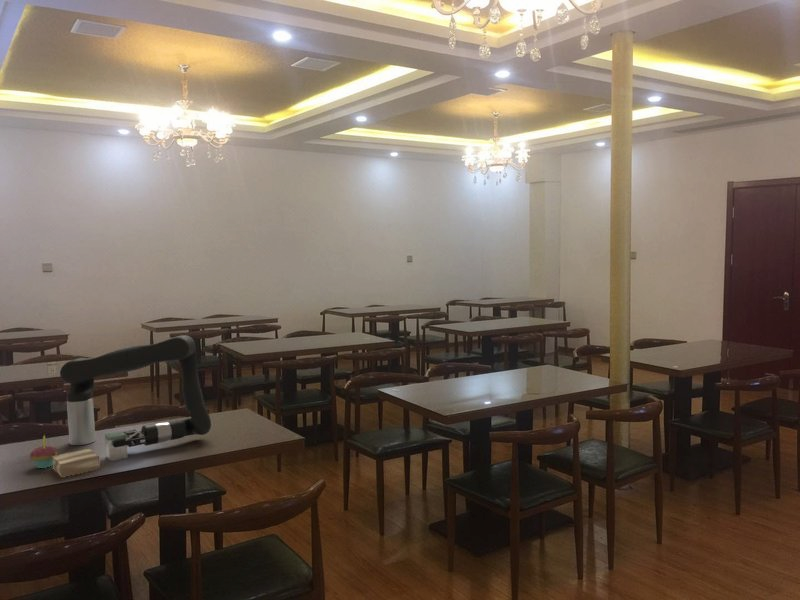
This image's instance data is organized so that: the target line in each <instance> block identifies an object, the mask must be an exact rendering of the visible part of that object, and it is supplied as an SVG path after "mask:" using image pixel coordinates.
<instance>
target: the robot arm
mask: <svg viewBox="0 0 800 600" xmlns="http://www.w3.org/2000/svg"><path fill="white" fill-rule="evenodd" d="M169 361H172V362H173V361H178V362H179V365H180V369H181V378H182V379H181V380H182V381H181V384H182V386H181V389H182V397H183V401H184V406H185V408H186V411H187V412H188V414H189V415H190V417H187V418H184V419H180V420H179V419H178V420H171V421H166V422H165V421H163V422H161V421H160V422H157V423H156V422H155V423H151V424H145V425H142V427H141V430H140V431H138V430H137V429H131V430H130V429H129V430H124V431H122V432H124V433H125V434H126V439H125V440H124V439H123V440H118V441H114V442H113V446H114V447H121V446H127V448H131V447H136V446H141V445H144V446H146V447H147V446H151V445H157V444H162V443H166V442H169V441H173V440H179V439H183V438H184V437H188V436H194V435H199V436H203V435H206V434H207V435H208V433H209V432H210V431H211V428H212V421H211V418H210V413H209V412H208V409H207V408H206V405H205V400H204V396H203V391H202V387H201V383H200V377H199V371H198V363H197V349H196V343H195V340H194V339H193V338H192V337H191V336H190V335H186V334H185V335H182V334H181V335H178V336H177V335H176V336H174V337H171V338H168V339H165V340H162V341H159V342H156V343H153V344H141V345H133V346H128V347H125V348H120V349H116V350H114V351H110V352H107V353H105V354H101V355H100V356H96V357H92V358H88V359H87V358H85V357H78V358H75V359H72V360H70V361H67V362H65V363H64V364H63V365H62V367H61V369H60V372H59V376H60V378H61V380H63V382H65V383H67V384H70V387H69V389H68V391H67V393H66V395H65V396H66V398H65V399H66V407H67V408H66V410H67V412H66V413H67V424H68V425H67V426H68V439H69V442H68V443H69V445H71V446H82V445H89V444H91V443H94V442H96V429H95V427H96V425H95V412H94V398H93V393H94V390H95V378H98V377H102V376H110V375H116V374H122V373H128V372H132V371H137V370H140V369H143V368H146V367H149V366H151V365H153V364H156V363H163V362H169Z"/></svg>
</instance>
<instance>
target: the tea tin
mask: <svg viewBox="0 0 800 600" xmlns="http://www.w3.org/2000/svg"><path fill="white" fill-rule="evenodd" d="M123 439H124V440H125V439H126V434H125V433H124V432H123V431H122V430H121V431H115V432H110V433H105V434H104V441H105V445H104V446H105V457H106V459H109V460H113V461H116V460H115V459H118V460H122V459H121V458H123V459H127V457H128V446H121V447H114V446H113V442H114V441H118V440H123ZM128 458H129V457H128Z"/></svg>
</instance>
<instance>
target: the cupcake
mask: <svg viewBox="0 0 800 600" xmlns="http://www.w3.org/2000/svg"><path fill="white" fill-rule="evenodd" d="M42 440H43V441H42V446H38V447H36V448H34V449H33V450H32V451H31V452H30V453H29V458H30V460H31V461H34V463H35V465H36V468H37V469H38V468H45V469H48V468H47V467H49V468H51V467H53V466H52V456H55V455H59V454H58V450H57V448H56V447H54V446H51V445H50V446H49V445H48V446H47V445H46V436H45V434H43V436H42ZM50 466H51V467H50Z"/></svg>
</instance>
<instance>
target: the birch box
mask: <svg viewBox="0 0 800 600" xmlns="http://www.w3.org/2000/svg"><path fill="white" fill-rule="evenodd" d="M52 465H53V466H52V470H53V469H54V470H55V471H56V472H57V473H58V474H59V475H60V476H61V477H63V478H67V477H66V476H68V477H71V476H70V475H72V476H75V474H77V475H80V473H81V474H85V473H88V471H90V472H93V471H92V470H94V471H97V470H96V469H98V470H100V469H101V465H100V455H99V454H97V453H95V452H94V451H93V449H91V448H86V449H80V450H75V451H70V452H66V453H65V452H64V453H61V454H57V455H55V456H52ZM54 470H53V471H54ZM55 471H54V472H55ZM56 472H55V473H56ZM84 472H85V473H84ZM57 473H56V474H57ZM58 474H57V475H58ZM59 475H58V476H59ZM60 476H59V477H60ZM61 477H60V478H61Z"/></svg>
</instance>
